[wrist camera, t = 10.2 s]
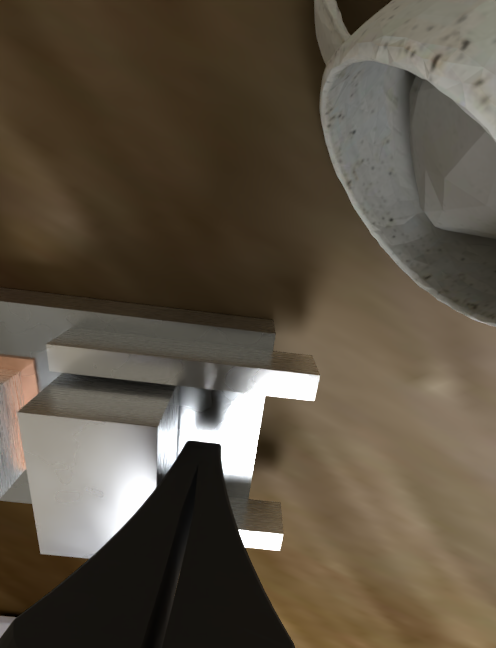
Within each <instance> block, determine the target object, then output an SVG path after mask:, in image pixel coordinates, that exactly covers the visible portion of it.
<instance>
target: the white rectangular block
mask: <svg viewBox="0 0 496 648" xmlns="http://www.w3.org/2000/svg"><path fill="white" fill-rule="evenodd" d="M24 406H25V404H24V397H23V389H22V382H21V375H20V371H12V370H3V369H0V498H1V497H2V496H3V495H4V494H5V493H6V491H7V490H8V489H9V488H10V487H11V486H12V485H13V483H14V482H15V481H16V480H17V479H18V478H19V476H20V475H21V474H22V473H23V472H24V471H25V470H26V464H25V458H24V452H23V446H22V440H21V434H20V428H19V422H18V416H17V412H18V411H19V410H20V409H21V408H22V407H24Z"/></svg>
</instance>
